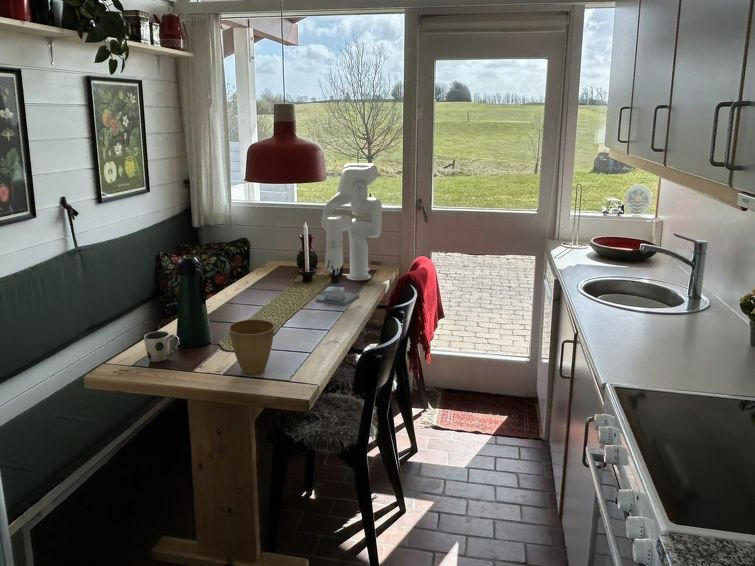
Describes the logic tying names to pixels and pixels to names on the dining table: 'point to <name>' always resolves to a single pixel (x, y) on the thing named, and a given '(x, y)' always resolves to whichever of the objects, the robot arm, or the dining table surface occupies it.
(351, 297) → the plate
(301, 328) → the dining table surface
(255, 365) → the plant pot
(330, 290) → the medicine box
